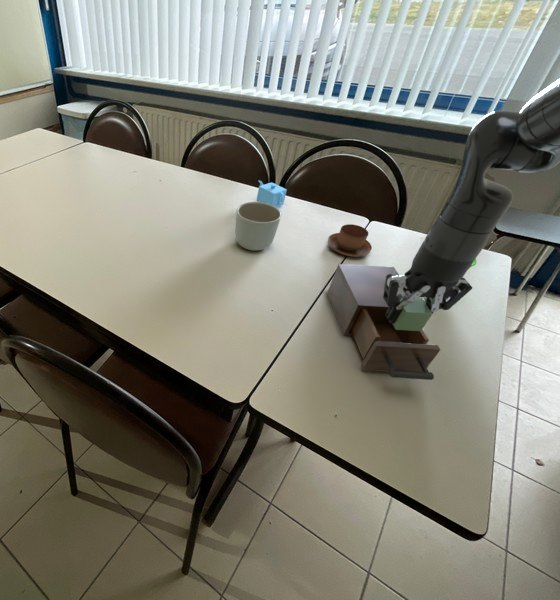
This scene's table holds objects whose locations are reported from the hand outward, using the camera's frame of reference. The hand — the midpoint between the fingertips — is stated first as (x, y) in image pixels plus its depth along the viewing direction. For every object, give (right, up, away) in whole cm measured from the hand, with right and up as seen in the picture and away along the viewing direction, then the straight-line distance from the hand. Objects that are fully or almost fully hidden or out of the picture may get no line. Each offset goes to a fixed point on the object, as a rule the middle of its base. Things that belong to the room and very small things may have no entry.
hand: (404, 320), depth 71 cm
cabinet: (+1, +1, +17) cm, 17 cm away
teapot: (-9, +38, +60) cm, 71 cm away
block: (0, 0, 0) cm, 0 cm away
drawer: (0, -8, +6) cm, 10 cm away
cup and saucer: (+9, +19, +38) cm, 44 cm away
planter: (-19, +21, +40) cm, 49 cm away
